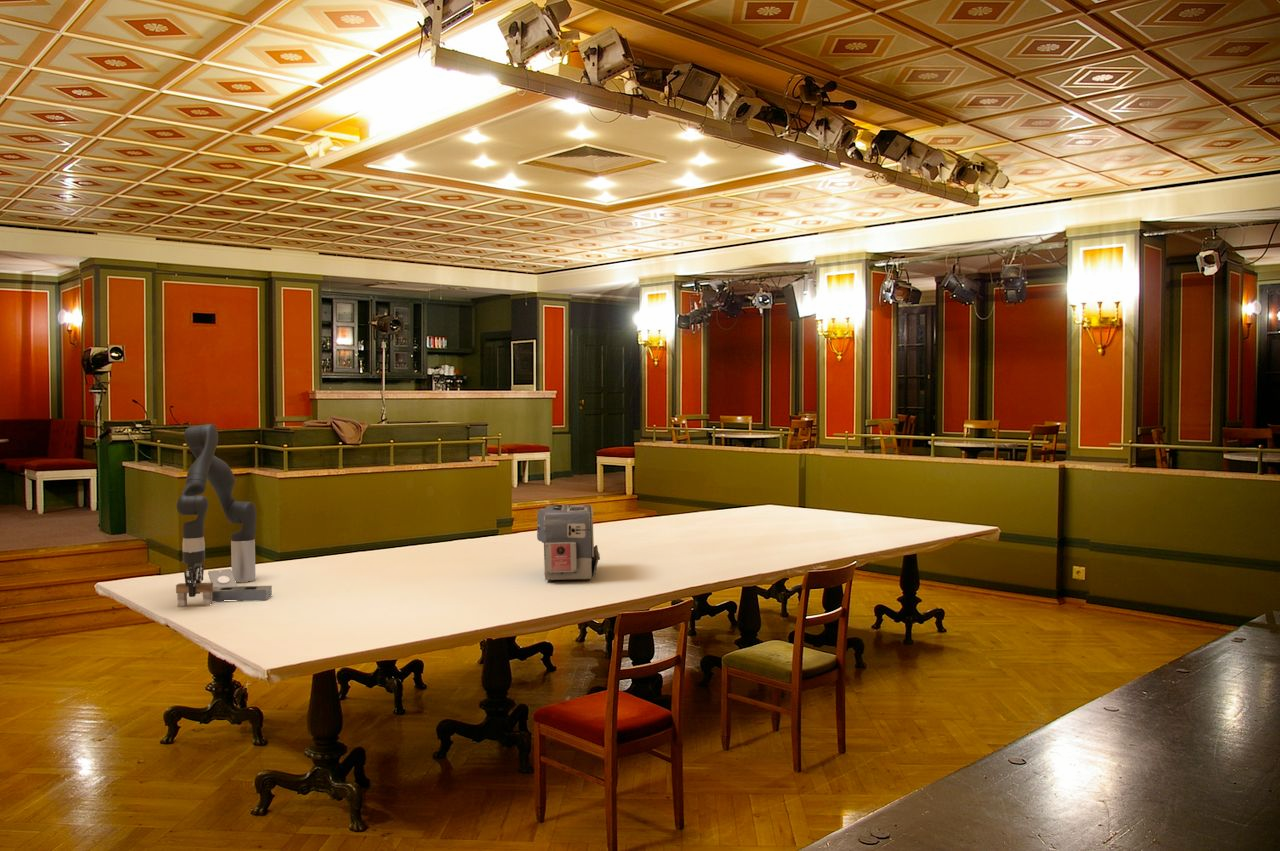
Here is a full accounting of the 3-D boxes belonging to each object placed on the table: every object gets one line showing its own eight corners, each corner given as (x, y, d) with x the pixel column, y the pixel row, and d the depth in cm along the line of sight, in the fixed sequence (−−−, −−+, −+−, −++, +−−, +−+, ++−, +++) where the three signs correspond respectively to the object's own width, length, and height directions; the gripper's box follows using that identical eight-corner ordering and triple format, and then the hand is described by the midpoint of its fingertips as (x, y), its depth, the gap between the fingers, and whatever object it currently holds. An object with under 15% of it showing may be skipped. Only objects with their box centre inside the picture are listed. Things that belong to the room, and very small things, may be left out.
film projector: (598, 585, 384) (598, 511, 383) (526, 585, 385) (525, 511, 383) (604, 566, 423) (603, 500, 422) (538, 567, 424) (538, 500, 423)
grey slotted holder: (212, 597, 364) (212, 587, 364) (271, 595, 367) (271, 585, 367) (205, 602, 357) (205, 591, 356) (265, 600, 359) (265, 589, 359)
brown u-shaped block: (179, 604, 352) (179, 583, 352) (213, 603, 354) (212, 582, 353) (176, 606, 349) (176, 585, 349) (210, 605, 350) (209, 584, 350)
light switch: (215, 591, 367) (208, 569, 377) (214, 603, 370) (207, 580, 380) (239, 588, 372) (231, 566, 382) (237, 600, 374) (229, 578, 385)
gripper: (190, 546, 357) (191, 591, 358) (175, 552, 343) (176, 599, 344) (211, 546, 358) (212, 590, 359) (197, 552, 344) (198, 599, 345)
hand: (194, 594), depth 351 cm, fingers open, 4 cm apart
